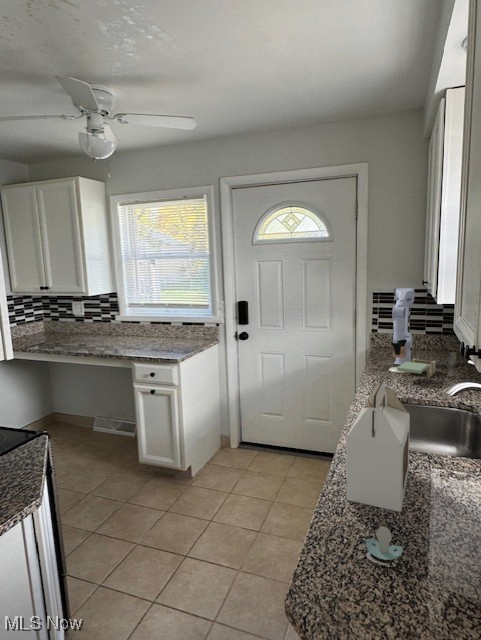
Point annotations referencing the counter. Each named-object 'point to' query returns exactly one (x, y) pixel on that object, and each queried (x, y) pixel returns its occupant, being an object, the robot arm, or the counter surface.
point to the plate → (394, 369)
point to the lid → (412, 367)
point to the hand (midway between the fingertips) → (399, 353)
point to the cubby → (430, 369)
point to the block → (402, 353)
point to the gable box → (379, 451)
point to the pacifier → (382, 547)
